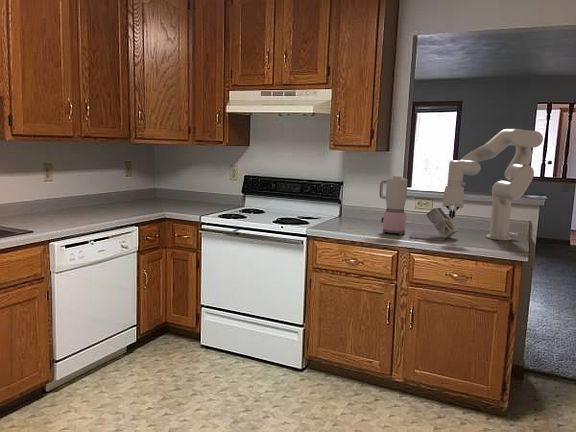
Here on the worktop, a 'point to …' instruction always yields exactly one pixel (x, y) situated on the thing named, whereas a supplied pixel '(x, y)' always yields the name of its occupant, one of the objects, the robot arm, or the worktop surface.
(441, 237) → the mat
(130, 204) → the worktop surface
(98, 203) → the worktop surface
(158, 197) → the worktop surface
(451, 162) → the robot arm
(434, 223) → the coffee box
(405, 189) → the blender
